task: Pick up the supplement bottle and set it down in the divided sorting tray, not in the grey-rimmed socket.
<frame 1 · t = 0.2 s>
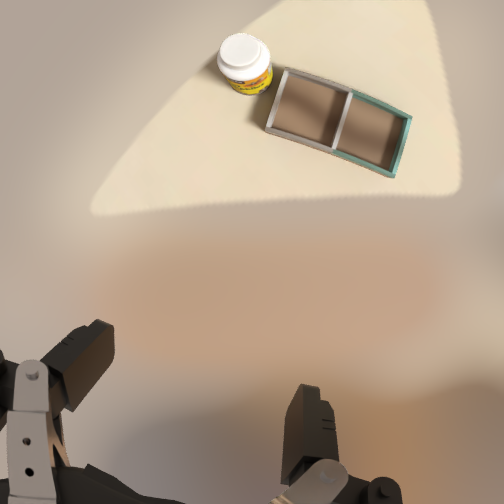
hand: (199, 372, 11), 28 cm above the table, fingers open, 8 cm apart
divided sorting tray: (338, 123, 33), on the table
supplement bottle: (251, 77, 33), on the table
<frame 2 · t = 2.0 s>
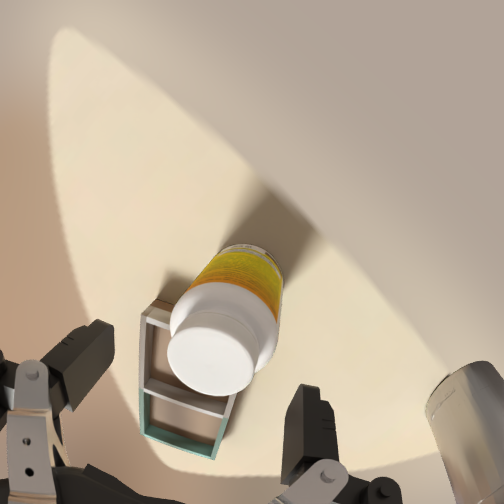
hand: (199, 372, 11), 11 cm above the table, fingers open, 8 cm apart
divided sorting tray: (191, 384, 25), on the table
supplement bottle: (246, 277, 22), on the table
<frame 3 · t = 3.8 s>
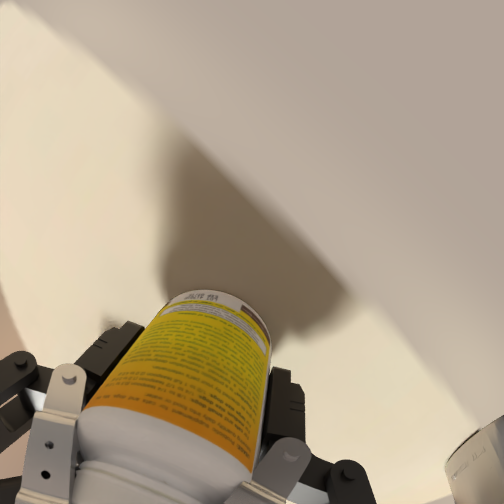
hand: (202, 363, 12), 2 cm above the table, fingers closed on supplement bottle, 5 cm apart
supplement bottle: (214, 335, 14), on the table, touching gripper
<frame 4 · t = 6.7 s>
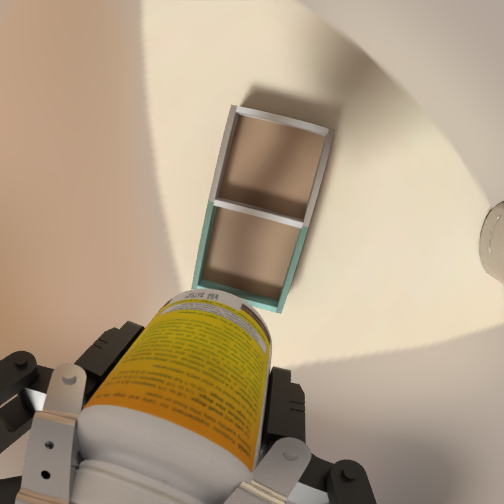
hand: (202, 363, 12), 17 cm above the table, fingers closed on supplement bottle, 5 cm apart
divided sorting tray: (261, 208, 26), on the table
supplement bottle: (215, 334, 14), point 15 cm above the table, touching gripper
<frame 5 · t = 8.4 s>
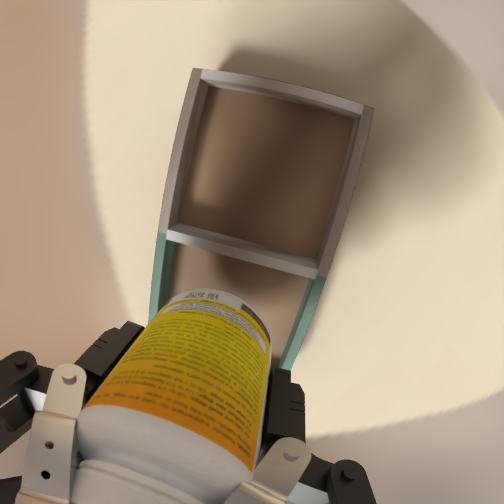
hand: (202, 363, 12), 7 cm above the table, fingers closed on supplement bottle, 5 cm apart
divided sorting tray: (248, 239, 17), on the table
supplement bottle: (215, 334, 14), point 4 cm above the table, touching gripper
when the fingers open (4 cm above the table, at t = 9.9 s): supplement bottle stays where it is, resting on divided sorting tray.
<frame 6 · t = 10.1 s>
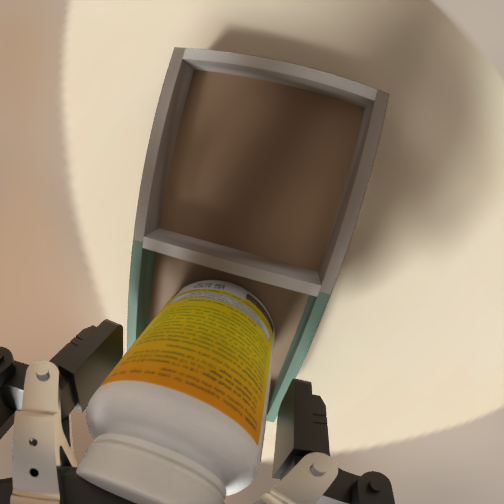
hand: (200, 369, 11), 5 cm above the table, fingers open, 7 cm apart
divided sorting tray: (239, 247, 14), on the table
supplement bottle: (220, 325, 14), point 1 cm above the table, touching divided sorting tray
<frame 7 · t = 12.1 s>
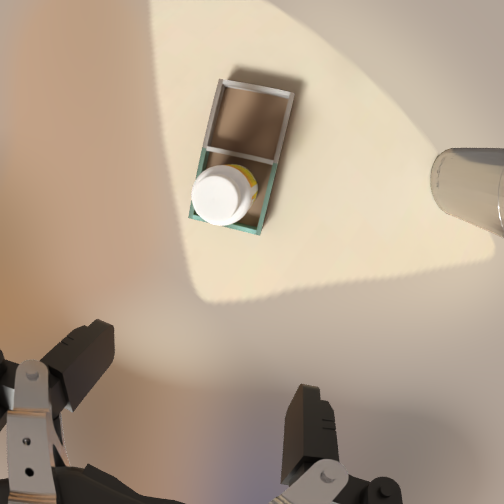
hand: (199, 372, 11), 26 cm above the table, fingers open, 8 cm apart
divided sorting tray: (242, 155, 33), on the table
supplement bottle: (234, 188, 34), point 1 cm above the table, touching divided sorting tray
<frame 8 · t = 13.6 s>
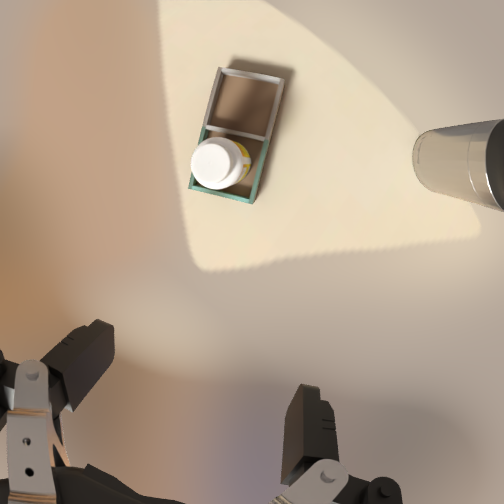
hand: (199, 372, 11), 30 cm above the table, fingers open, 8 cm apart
divided sorting tray: (238, 134, 36), on the table
supplement bottle: (230, 162, 37), point 1 cm above the table, touching divided sorting tray
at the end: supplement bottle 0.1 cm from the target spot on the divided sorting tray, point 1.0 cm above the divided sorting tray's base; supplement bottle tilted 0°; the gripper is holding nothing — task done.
